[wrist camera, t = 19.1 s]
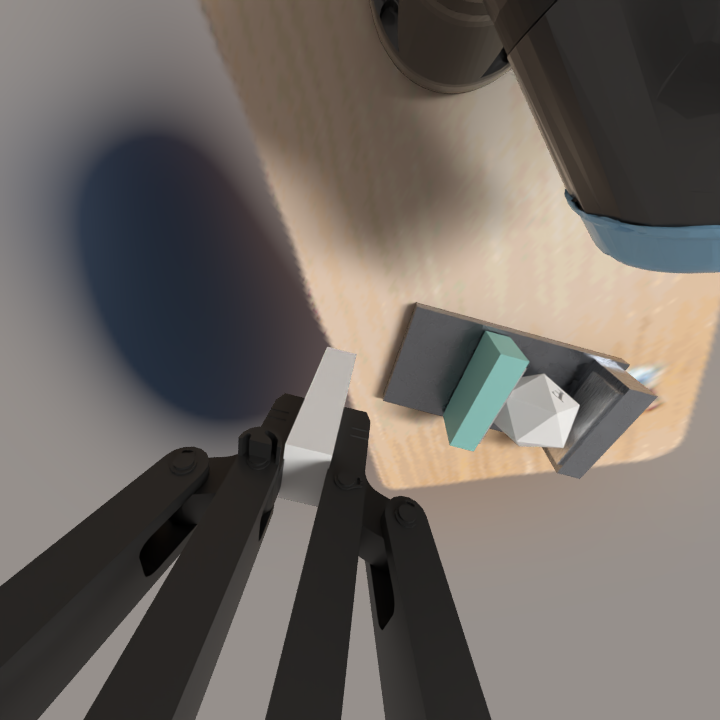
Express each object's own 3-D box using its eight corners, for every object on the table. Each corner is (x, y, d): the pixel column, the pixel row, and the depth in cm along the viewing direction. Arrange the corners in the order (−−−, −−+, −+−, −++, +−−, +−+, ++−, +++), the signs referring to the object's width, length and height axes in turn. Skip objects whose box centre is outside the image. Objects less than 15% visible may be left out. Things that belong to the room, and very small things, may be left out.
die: (556, 407, 40) (616, 410, 31) (514, 456, 39) (561, 474, 30) (508, 365, 41) (552, 355, 31) (466, 412, 40) (497, 416, 31)
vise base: (416, 302, 36) (421, 327, 29) (621, 358, 37) (670, 395, 30) (383, 394, 43) (381, 431, 36) (556, 439, 44) (585, 483, 37)
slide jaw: (485, 330, 35) (500, 354, 30) (513, 338, 35) (533, 362, 30) (443, 414, 41) (449, 445, 36) (466, 420, 41) (476, 452, 36)
